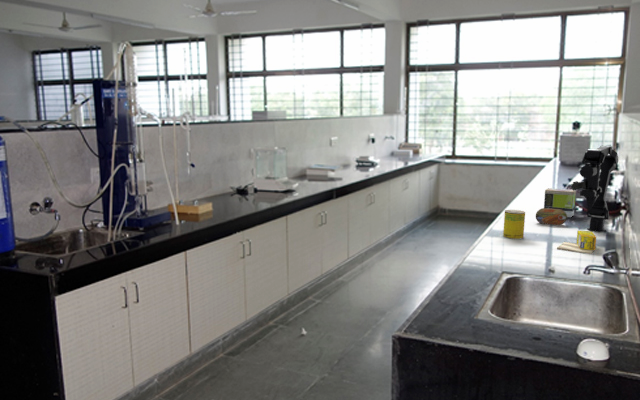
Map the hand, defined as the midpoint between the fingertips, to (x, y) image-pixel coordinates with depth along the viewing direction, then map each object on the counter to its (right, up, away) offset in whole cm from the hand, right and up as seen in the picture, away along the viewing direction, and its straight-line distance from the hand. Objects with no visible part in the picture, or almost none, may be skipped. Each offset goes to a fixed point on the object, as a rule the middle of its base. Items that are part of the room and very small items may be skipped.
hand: (589, 209), depth 245 cm
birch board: (-16, -17, -20) cm, 31 cm away
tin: (-6, -9, +28) cm, 30 cm away
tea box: (+9, -5, +52) cm, 53 cm away
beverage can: (-36, -13, +1) cm, 38 cm away
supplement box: (-10, -12, -15) cm, 22 cm away
